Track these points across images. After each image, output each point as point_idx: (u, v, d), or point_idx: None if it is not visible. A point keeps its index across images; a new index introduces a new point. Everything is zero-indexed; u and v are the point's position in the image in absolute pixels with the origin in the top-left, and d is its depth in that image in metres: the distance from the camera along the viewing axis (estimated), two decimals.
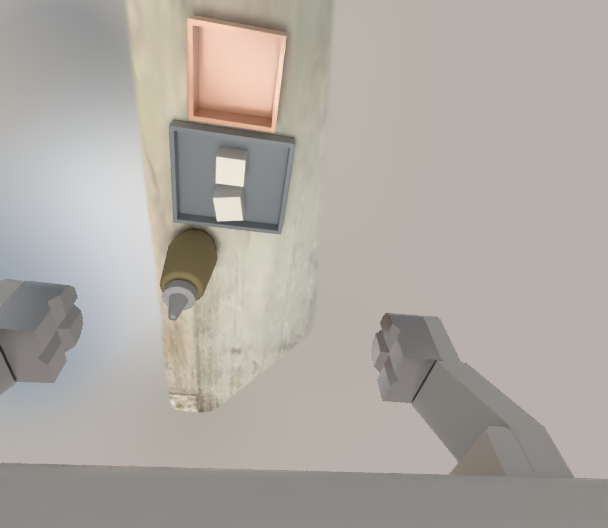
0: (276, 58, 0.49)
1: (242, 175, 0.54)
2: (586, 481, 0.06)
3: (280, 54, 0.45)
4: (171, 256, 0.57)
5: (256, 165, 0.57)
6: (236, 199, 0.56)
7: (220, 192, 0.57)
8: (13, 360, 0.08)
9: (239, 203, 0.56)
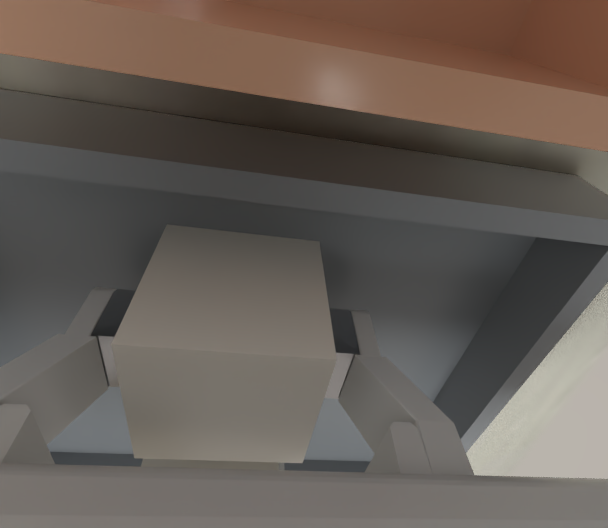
0: None
1: (303, 424, 0.08)
2: (586, 481, 0.06)
3: None
4: None
5: (353, 304, 0.12)
6: None
7: None
8: (111, 366, 0.09)
9: None
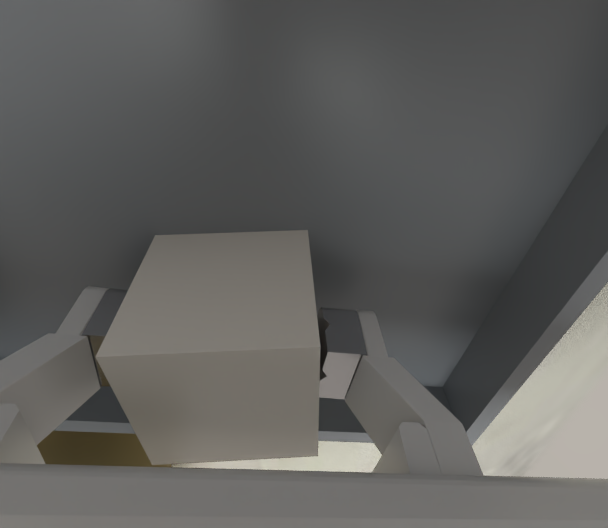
0: None
1: None
2: (586, 481, 0.06)
3: None
4: None
5: (420, 102, 0.08)
6: (285, 363, 0.07)
7: (173, 290, 0.08)
8: None
9: (308, 383, 0.07)
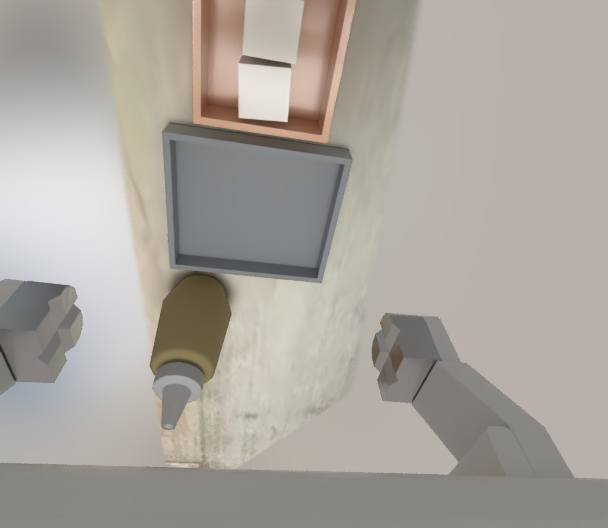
0: (332, 26, 0.31)
1: (295, 37, 0.28)
2: (586, 481, 0.06)
3: (346, 14, 0.27)
4: (167, 321, 0.39)
5: (290, 189, 0.39)
6: (282, 73, 0.29)
7: (252, 60, 0.30)
8: (13, 360, 0.08)
9: (287, 83, 0.29)
